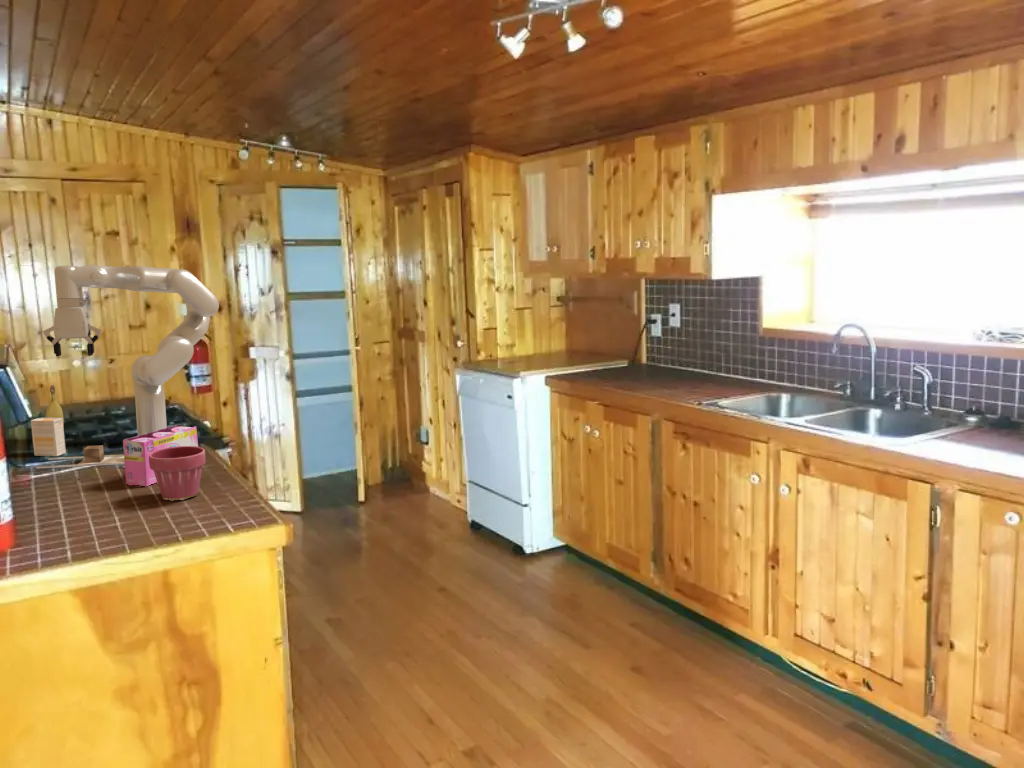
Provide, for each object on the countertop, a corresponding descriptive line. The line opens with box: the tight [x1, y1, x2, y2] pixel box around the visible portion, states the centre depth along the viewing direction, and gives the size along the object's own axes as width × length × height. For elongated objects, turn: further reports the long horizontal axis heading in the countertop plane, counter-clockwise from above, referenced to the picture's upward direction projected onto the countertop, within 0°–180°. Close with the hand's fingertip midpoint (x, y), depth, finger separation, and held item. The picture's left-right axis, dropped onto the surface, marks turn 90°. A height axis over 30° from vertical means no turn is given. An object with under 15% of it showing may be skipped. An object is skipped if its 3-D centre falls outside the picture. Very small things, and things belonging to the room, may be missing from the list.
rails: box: [35, 453, 125, 469], centre depth 252 cm, size 30×12×2 cm, turn 102°
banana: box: [45, 384, 65, 429], centre depth 277 cm, size 23×6×20 cm, turn 23°
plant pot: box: [149, 446, 207, 499], centre depth 218 cm, size 14×14×13 cm
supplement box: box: [30, 417, 67, 457], centre depth 260 cm, size 8×5×13 cm, turn 84°
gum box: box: [122, 424, 199, 487], centre depth 239 cm, size 24×8×14 cm, turn 161°
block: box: [83, 444, 105, 463], centre depth 252 cm, size 4×4×4 cm
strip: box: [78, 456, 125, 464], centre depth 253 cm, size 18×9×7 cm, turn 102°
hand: (74, 355), depth 261 cm, fingers open, 9 cm apart
